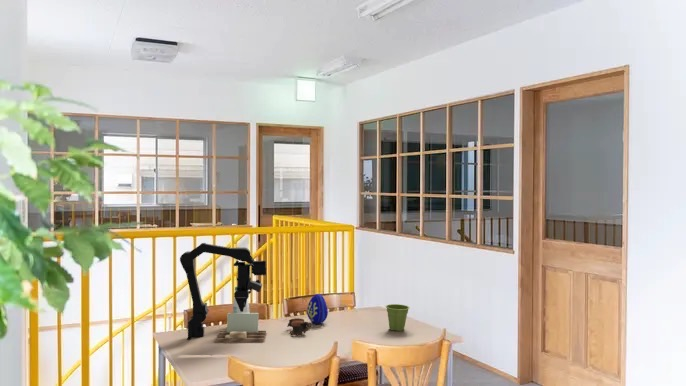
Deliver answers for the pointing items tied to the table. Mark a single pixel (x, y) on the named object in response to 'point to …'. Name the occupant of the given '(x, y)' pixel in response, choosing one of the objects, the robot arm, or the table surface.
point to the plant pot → (397, 316)
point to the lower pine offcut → (233, 337)
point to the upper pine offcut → (238, 333)
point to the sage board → (242, 322)
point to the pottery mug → (298, 326)
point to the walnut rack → (251, 337)
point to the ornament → (317, 309)
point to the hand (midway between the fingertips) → (243, 309)
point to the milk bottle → (236, 307)
